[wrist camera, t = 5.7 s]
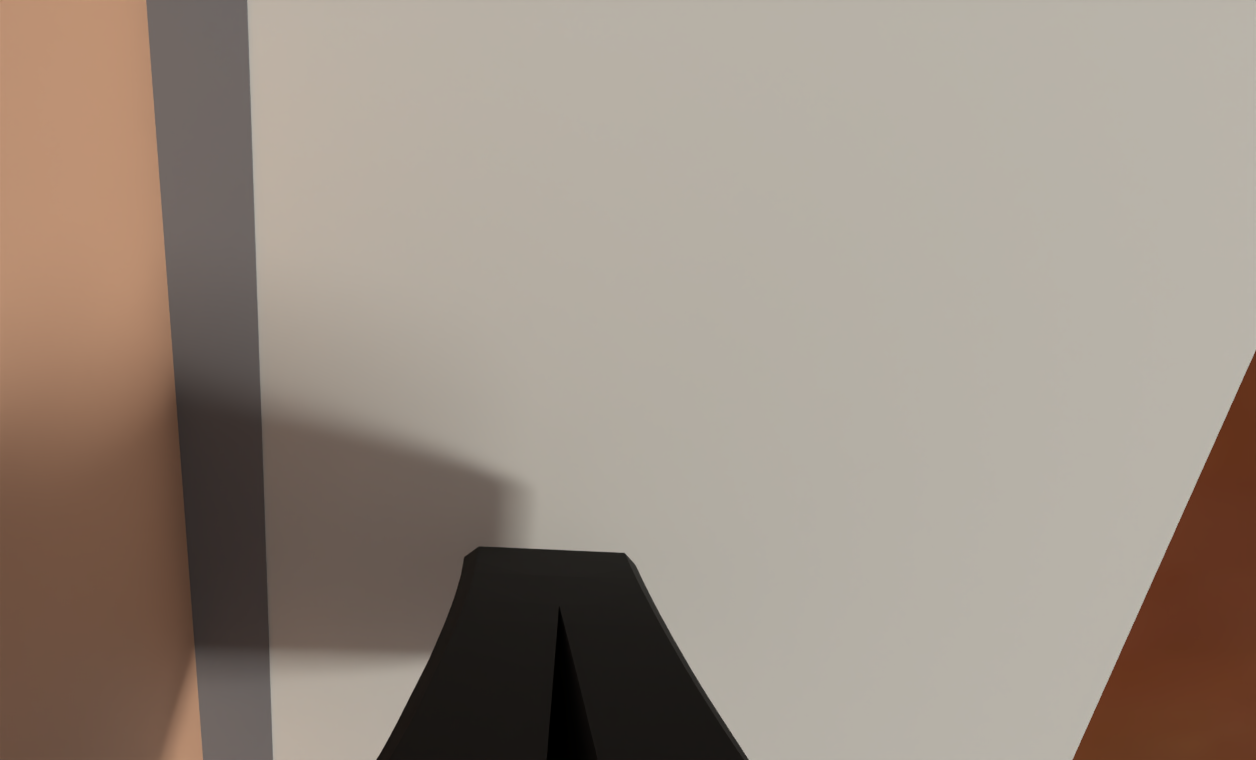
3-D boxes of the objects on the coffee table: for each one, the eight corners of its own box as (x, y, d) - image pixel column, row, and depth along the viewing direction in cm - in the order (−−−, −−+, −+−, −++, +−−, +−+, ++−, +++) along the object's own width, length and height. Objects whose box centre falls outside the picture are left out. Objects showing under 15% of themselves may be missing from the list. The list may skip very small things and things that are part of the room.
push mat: (1359, -21, 8) (1418, -10, 8) (953, 940, 14) (971, 986, 13) (-1979, -488, 6) (-2248, -521, 5) (-842, 943, 11) (-914, 1002, 11)
